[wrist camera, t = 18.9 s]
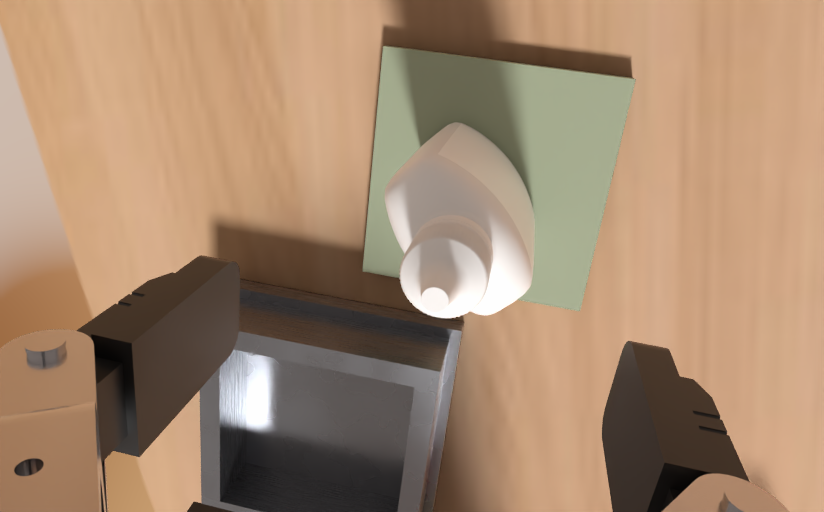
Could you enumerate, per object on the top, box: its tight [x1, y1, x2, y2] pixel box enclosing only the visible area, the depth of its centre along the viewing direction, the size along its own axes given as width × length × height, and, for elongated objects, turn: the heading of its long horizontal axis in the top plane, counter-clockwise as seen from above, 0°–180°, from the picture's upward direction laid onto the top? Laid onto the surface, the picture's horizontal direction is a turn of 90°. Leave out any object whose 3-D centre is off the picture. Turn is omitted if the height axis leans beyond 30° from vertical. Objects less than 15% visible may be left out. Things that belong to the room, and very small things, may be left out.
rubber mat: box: [363, 46, 636, 311], centre depth 26 cm, size 10×10×1 cm
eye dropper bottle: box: [384, 122, 535, 318], centre depth 21 cm, size 4×6×12 cm
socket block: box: [200, 279, 464, 512], centre depth 31 cm, size 12×12×4 cm
